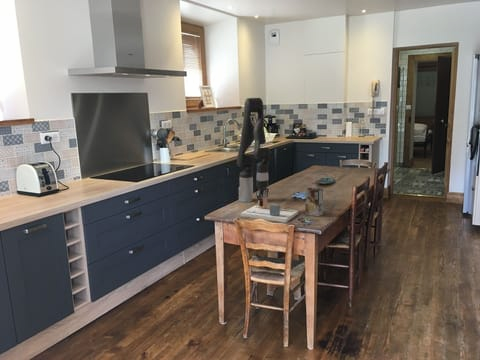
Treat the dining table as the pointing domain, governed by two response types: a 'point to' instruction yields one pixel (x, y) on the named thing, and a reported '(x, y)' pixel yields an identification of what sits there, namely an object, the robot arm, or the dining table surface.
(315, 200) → the coffee box
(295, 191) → the dining table surface
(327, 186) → the dining table surface
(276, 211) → the slate fader
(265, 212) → the console
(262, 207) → the block
